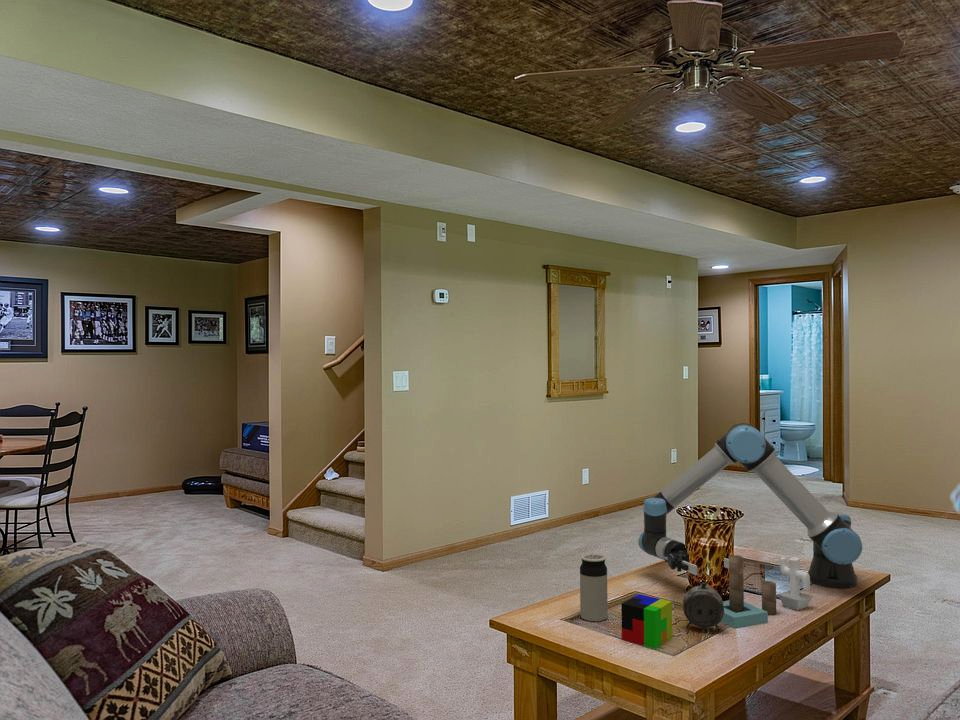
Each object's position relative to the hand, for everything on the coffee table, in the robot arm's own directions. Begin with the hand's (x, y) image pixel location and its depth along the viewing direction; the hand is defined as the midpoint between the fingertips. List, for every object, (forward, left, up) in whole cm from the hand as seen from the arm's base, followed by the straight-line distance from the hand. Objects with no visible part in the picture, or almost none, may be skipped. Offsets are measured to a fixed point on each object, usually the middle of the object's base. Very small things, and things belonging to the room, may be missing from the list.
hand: (714, 568), depth 223 cm
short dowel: (-12, +10, -12) cm, 20 cm away
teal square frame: (0, +10, -12) cm, 16 cm away
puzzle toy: (+33, +13, -13) cm, 38 cm away
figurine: (-23, +9, -12) cm, 27 cm away
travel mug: (+38, -7, -13) cm, 41 cm away
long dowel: (0, +10, -12) cm, 16 cm away
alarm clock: (+15, +14, -13) cm, 24 cm away
